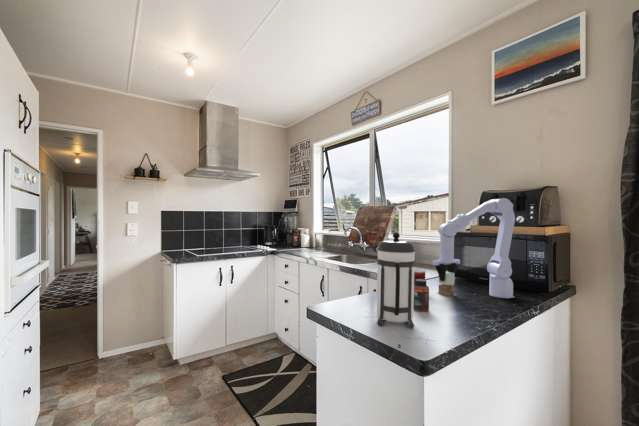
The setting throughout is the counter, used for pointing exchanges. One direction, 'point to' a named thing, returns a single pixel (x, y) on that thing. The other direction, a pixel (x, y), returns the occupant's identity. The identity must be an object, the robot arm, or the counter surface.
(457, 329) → the counter surface
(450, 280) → the sage block
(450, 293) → the walnut block
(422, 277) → the canned food
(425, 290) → the supplement bottle
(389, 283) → the coffee press
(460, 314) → the counter surface
